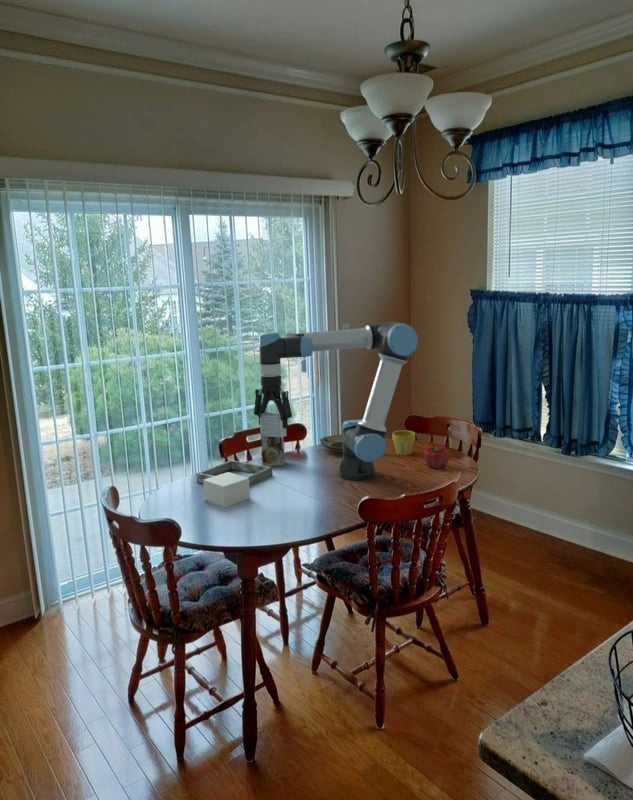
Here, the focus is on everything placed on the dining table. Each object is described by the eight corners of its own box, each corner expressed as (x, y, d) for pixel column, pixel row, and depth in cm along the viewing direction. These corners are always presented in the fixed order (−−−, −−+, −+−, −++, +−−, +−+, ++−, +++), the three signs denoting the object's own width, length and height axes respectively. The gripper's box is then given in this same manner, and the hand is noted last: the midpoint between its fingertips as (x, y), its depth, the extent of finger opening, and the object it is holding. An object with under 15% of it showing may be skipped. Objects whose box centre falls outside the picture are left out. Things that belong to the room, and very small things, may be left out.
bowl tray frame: (272, 475, 252) (272, 467, 252) (239, 490, 235) (239, 482, 234) (231, 467, 264) (231, 460, 264) (197, 481, 247) (196, 473, 246)
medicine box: (285, 434, 226) (284, 412, 225) (281, 437, 222) (280, 414, 220) (266, 433, 229) (265, 411, 227) (261, 436, 225) (260, 414, 223)
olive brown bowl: (344, 441, 302) (343, 426, 301) (388, 453, 280) (388, 437, 278) (310, 450, 288) (309, 435, 286) (354, 463, 265) (353, 446, 264)
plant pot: (409, 457, 271) (409, 436, 269) (388, 454, 277) (388, 434, 275) (418, 452, 280) (418, 431, 278) (398, 449, 285) (398, 429, 284)
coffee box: (285, 461, 271) (283, 426, 268) (282, 466, 265) (281, 430, 261) (265, 461, 272) (263, 426, 269) (262, 466, 265) (260, 430, 262)
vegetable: (449, 471, 250) (449, 448, 248) (424, 471, 252) (424, 448, 250) (448, 464, 261) (448, 441, 259) (423, 463, 263) (423, 441, 261)
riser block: (249, 498, 226) (248, 478, 225) (224, 507, 218) (223, 486, 216) (229, 491, 234) (228, 472, 233) (204, 500, 226) (203, 479, 224)
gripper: (300, 375, 218) (302, 435, 223) (254, 372, 230) (257, 429, 234) (288, 378, 212) (291, 440, 217) (241, 374, 224) (245, 434, 228)
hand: (273, 434), depth 225 cm, fingers closed on medicine box, 8 cm apart
